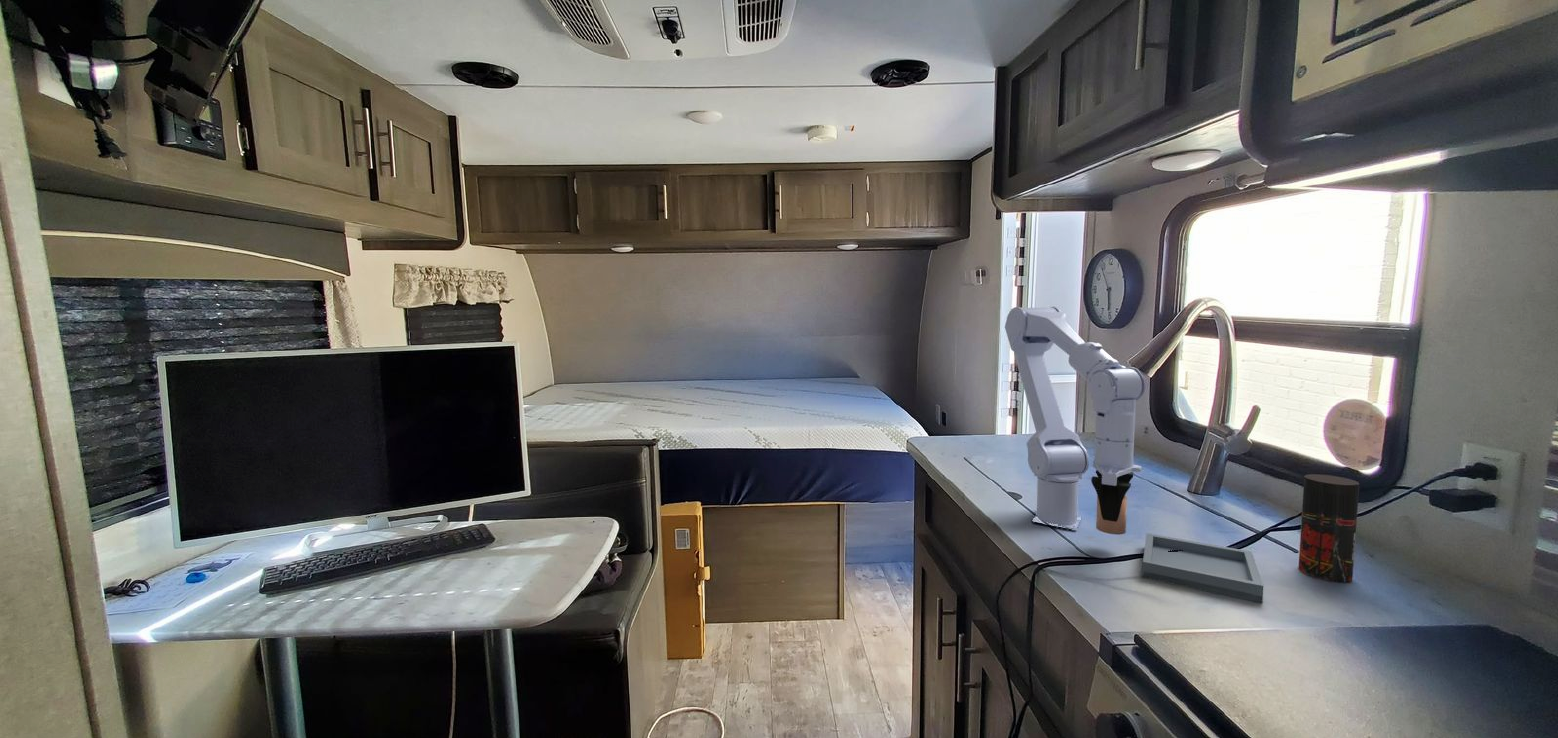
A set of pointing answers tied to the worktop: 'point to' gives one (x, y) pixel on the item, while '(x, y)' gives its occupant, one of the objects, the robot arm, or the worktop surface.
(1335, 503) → the deodorant
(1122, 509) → the shaker
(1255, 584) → the tray
